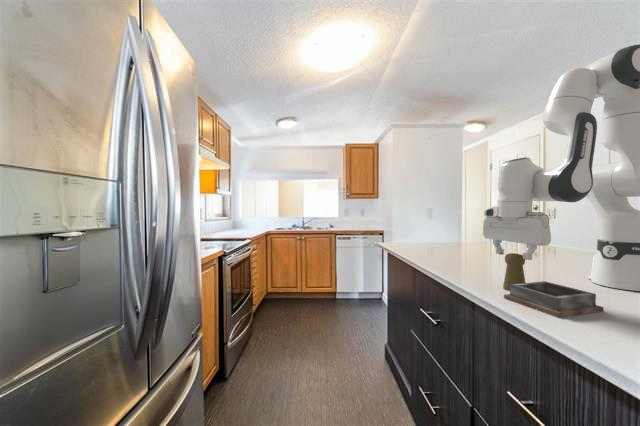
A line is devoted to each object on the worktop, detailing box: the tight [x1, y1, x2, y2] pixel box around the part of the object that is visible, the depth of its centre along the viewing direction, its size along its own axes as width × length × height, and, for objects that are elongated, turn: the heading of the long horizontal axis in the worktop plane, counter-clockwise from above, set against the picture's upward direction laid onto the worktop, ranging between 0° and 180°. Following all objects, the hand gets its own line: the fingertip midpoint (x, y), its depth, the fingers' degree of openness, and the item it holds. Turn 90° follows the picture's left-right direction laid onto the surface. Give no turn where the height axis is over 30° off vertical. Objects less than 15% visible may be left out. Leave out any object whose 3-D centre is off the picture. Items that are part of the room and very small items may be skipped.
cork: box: [502, 252, 526, 292], centre depth 88 cm, size 6×6×11 cm
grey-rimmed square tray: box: [503, 280, 604, 318], centre depth 75 cm, size 14×14×4 cm
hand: (513, 256), depth 88 cm, fingers open, 8 cm apart
